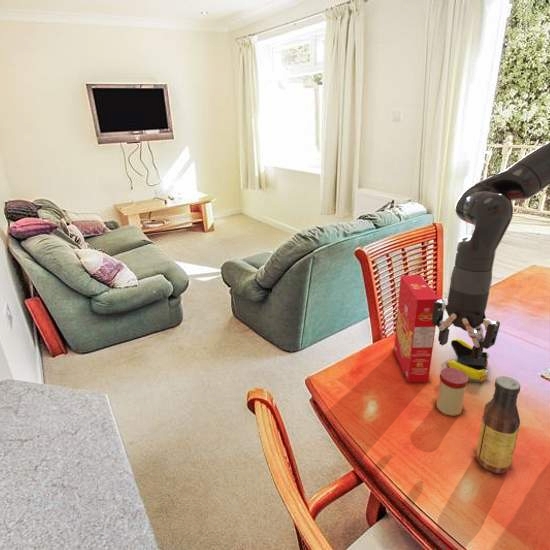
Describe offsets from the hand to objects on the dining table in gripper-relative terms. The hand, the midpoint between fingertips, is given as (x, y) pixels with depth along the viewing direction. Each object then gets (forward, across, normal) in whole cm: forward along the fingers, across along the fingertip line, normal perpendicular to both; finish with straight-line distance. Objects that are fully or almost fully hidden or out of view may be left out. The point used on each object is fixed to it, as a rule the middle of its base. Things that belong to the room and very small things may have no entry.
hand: (458, 351), depth 85 cm
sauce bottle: (+17, -14, +7) cm, 23 cm away
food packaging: (+17, +16, -6) cm, 24 cm away
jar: (+16, 0, 0) cm, 16 cm away
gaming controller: (+17, +6, -17) cm, 24 cm away
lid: (+7, 0, 0) cm, 7 cm away
